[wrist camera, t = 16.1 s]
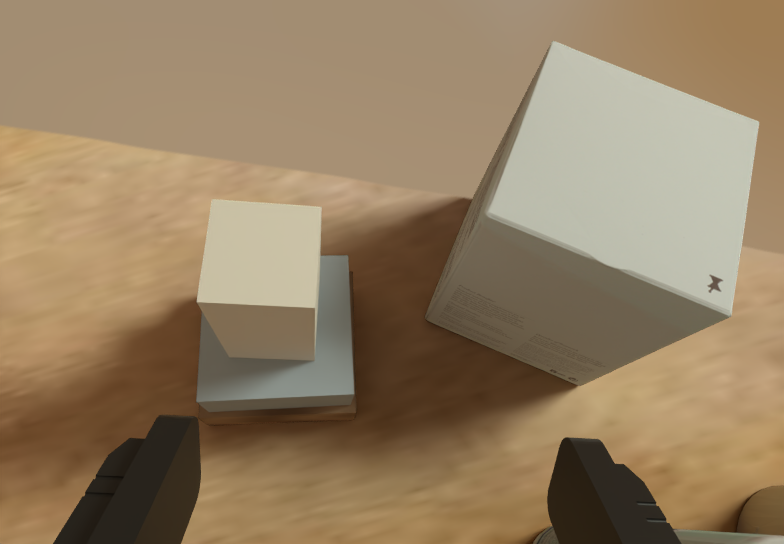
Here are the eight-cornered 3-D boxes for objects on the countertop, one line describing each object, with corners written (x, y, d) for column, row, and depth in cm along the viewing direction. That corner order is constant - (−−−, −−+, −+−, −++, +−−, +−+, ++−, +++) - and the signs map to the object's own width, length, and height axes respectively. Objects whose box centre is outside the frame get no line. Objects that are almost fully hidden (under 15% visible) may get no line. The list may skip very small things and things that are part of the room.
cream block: (319, 283, 35) (321, 206, 26) (314, 360, 33) (315, 308, 24) (238, 278, 35) (212, 199, 25) (229, 357, 33) (196, 302, 24)
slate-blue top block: (345, 277, 40) (348, 255, 36) (350, 405, 36) (354, 394, 33) (216, 280, 39) (205, 257, 35) (209, 412, 35) (196, 401, 32)
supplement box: (617, 248, 48) (767, 119, 32) (580, 389, 42) (738, 321, 26) (474, 189, 48) (550, 33, 32) (421, 321, 43) (480, 214, 27)
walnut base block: (349, 290, 44) (352, 271, 40) (353, 420, 40) (356, 412, 36) (219, 291, 42) (209, 272, 39) (209, 426, 39) (198, 418, 35)
